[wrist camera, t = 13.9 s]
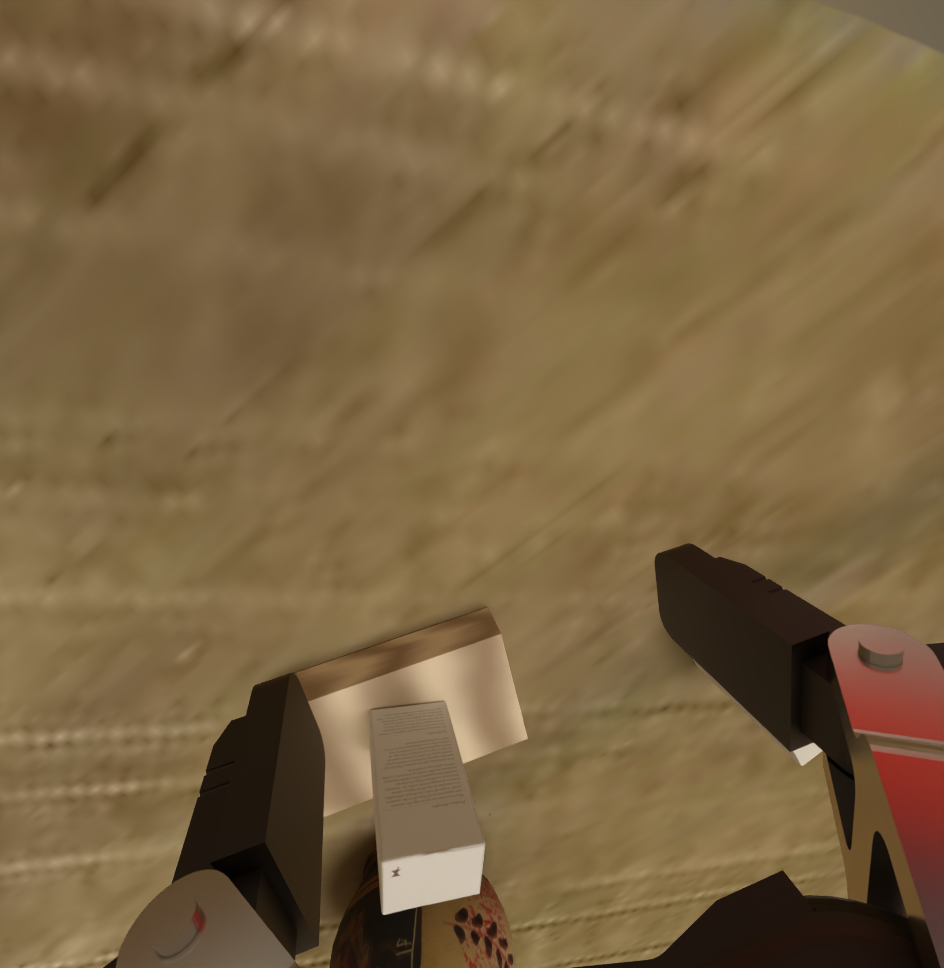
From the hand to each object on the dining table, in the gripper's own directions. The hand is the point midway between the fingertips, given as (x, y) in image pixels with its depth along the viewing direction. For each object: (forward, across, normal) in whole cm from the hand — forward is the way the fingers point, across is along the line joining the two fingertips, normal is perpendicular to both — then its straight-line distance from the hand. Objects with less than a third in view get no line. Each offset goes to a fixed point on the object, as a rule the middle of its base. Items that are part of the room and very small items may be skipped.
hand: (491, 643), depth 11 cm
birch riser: (+28, +5, +24) cm, 37 cm away
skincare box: (+24, +5, +23) cm, 34 cm away
